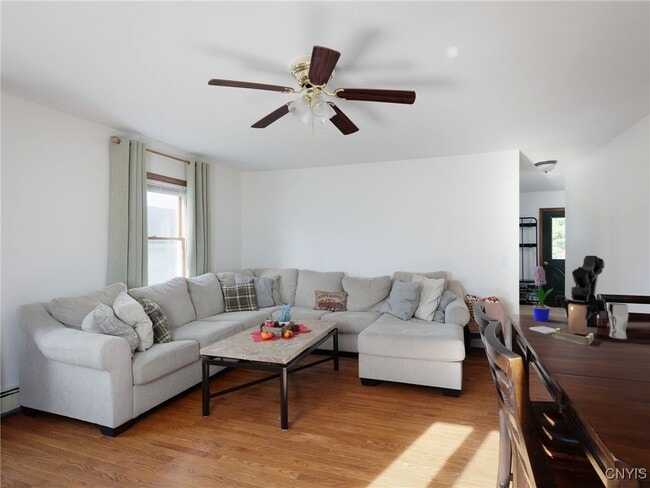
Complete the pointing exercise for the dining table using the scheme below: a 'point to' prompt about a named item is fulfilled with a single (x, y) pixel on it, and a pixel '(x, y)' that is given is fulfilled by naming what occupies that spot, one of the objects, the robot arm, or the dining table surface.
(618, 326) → the beer glass
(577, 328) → the peach tapered rounded piece
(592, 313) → the robot arm
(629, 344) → the dining table surface
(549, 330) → the tile
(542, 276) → the hyacinth
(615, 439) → the dining table surface
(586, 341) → the frame
